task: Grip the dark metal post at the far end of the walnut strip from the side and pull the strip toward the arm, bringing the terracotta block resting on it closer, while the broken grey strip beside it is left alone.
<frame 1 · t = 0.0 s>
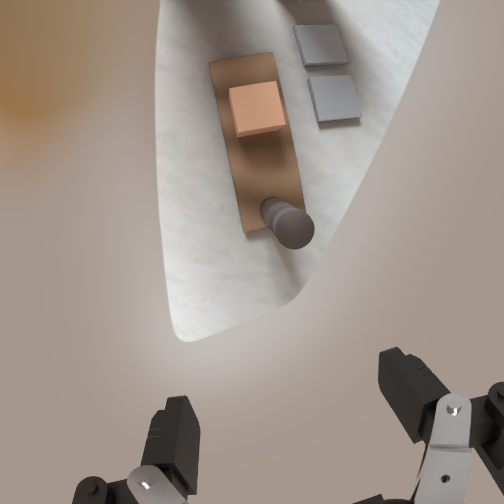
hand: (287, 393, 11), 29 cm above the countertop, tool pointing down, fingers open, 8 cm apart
terracotta block: (253, 114, 34), point 1 cm above the countertop, touching pull strip
broken strip: (326, 71, 34), on the countertop
pull strip: (264, 131, 29), point 7 cm above the countertop, slide at 0.0 cm, touching terracotta block
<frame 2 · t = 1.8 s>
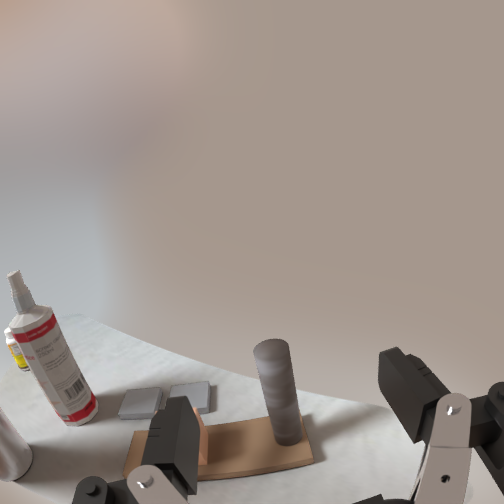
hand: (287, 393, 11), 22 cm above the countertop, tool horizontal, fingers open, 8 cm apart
terracotta block: (187, 450, 30), point 1 cm above the countertop, touching pull strip
supplement bottle: (29, 366, 55), on the countertop
broken strip: (165, 404, 41), on the countertop
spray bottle: (80, 412, 40), on the countertop
pull strip: (196, 416, 28), point 7 cm above the countertop, slide at 0.0 cm, touching terracotta block
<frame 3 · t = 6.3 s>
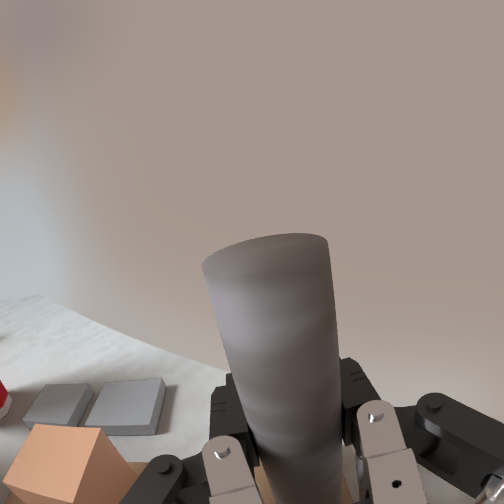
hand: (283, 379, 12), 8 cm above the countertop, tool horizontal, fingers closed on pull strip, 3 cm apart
broken strip: (92, 412, 22), on the countertop
pull strip: (85, 451, 9), point 7 cm above the countertop, slide at 0.0 cm, touching gripper, terracotta block
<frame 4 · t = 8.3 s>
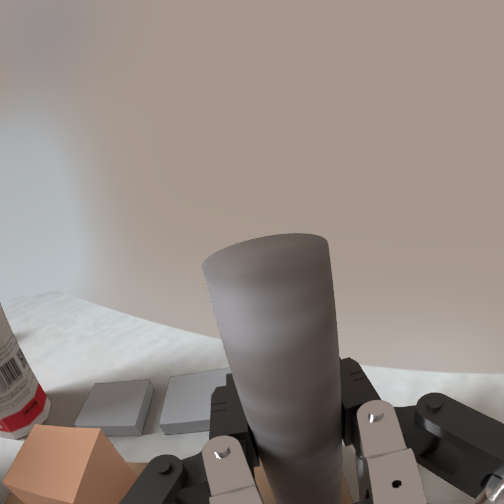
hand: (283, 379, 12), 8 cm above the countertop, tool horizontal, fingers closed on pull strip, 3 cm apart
broken strip: (158, 409, 22), on the countertop
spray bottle: (23, 416, 21), on the countertop
pull strip: (85, 452, 9), point 7 cm above the countertop, slide at 6.8 cm, touching gripper, terracotta block
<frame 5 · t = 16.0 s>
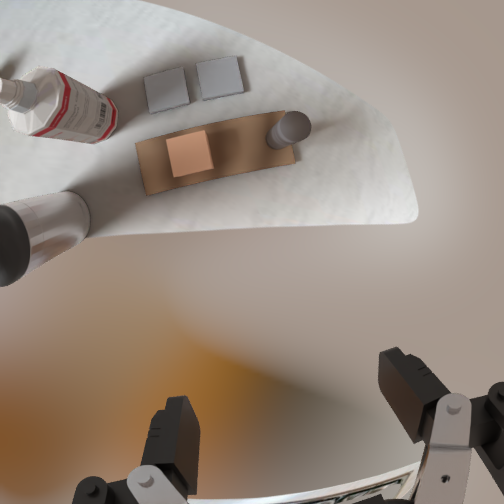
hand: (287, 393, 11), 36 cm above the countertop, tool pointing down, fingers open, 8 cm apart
terracotta block: (193, 155, 41), point 1 cm above the countertop, touching pull strip
broken strip: (193, 84, 40), on the countertop
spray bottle: (97, 120, 40), on the countertop
pull strip: (211, 147, 36), point 7 cm above the countertop, slide at 6.9 cm, touching terracotta block
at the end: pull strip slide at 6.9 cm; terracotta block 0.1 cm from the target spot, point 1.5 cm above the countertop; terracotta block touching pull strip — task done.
